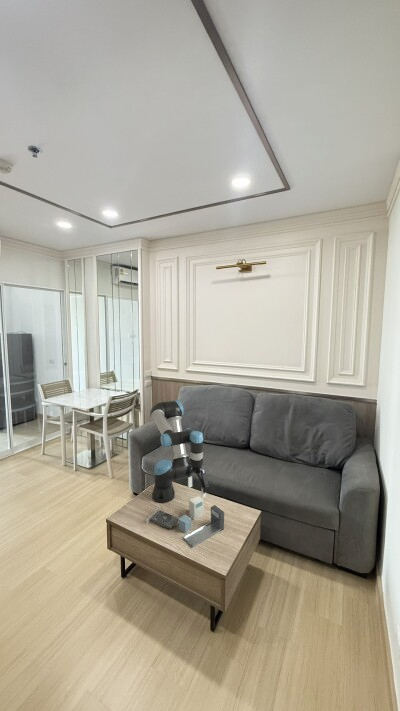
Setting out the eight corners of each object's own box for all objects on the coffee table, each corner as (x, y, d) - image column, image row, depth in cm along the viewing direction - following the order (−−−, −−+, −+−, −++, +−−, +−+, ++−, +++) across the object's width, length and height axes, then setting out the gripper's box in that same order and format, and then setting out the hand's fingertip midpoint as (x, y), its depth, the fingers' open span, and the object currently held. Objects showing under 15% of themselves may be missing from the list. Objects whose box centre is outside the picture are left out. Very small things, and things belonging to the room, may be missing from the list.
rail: (183, 538, 155) (183, 520, 153) (214, 521, 168) (214, 504, 167) (192, 547, 148) (192, 528, 147) (223, 529, 162) (224, 512, 161)
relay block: (178, 529, 162) (178, 519, 161) (184, 524, 166) (184, 514, 165) (185, 533, 159) (185, 522, 158) (191, 528, 163) (191, 518, 162)
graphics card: (144, 518, 166) (157, 506, 176) (144, 524, 167) (157, 512, 177) (168, 529, 158) (180, 516, 168) (168, 535, 158) (180, 522, 168)
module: (189, 515, 173) (189, 499, 172) (198, 510, 178) (198, 495, 177) (194, 520, 169) (194, 504, 168) (203, 515, 174) (203, 499, 173)
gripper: (179, 452, 177) (179, 485, 179) (204, 468, 158) (204, 504, 160) (189, 449, 182) (189, 481, 184) (215, 464, 162) (215, 499, 164)
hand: (196, 492), depth 172 cm, fingers open, 13 cm apart
